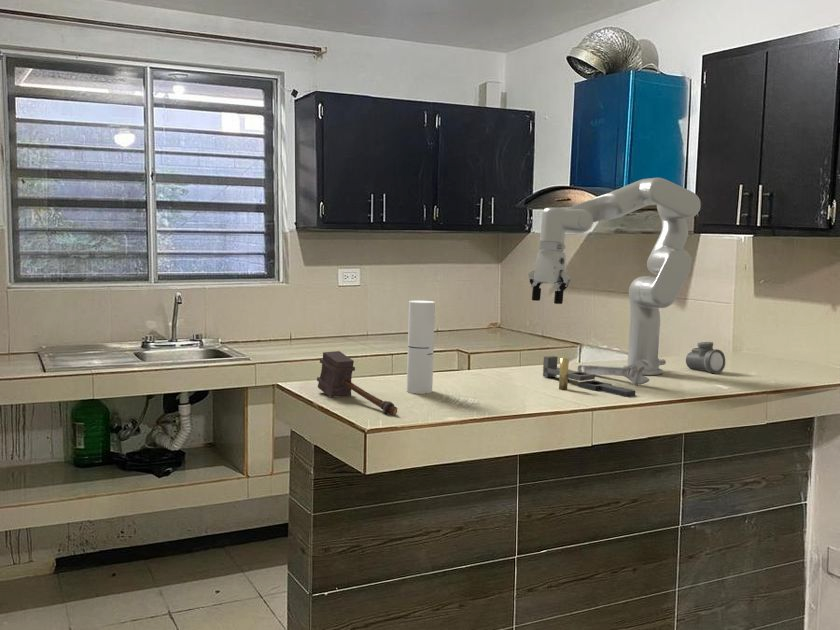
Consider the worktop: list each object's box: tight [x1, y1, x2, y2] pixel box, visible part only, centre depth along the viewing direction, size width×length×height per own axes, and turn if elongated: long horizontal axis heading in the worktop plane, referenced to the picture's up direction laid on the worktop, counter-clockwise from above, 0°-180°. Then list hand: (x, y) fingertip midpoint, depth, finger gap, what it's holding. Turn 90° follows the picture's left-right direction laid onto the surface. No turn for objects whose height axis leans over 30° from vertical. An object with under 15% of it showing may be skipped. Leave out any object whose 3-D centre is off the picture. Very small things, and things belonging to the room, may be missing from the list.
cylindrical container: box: [406, 299, 436, 395], centre depth 222 cm, size 7×7×25 cm
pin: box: [558, 357, 570, 391], centre depth 231 cm, size 2×2×9 cm
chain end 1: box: [542, 355, 596, 382], centre depth 244 cm, size 6×17×6 cm, turn 36°
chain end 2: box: [577, 379, 636, 398], centre depth 231 cm, size 7×17×1 cm, turn 36°
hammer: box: [316, 350, 398, 416], centre depth 206 cm, size 7×33×10 cm, turn 36°
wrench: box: [577, 360, 653, 386], centre depth 249 cm, size 8×2×30 cm
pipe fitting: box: [685, 341, 726, 375], centre depth 270 cm, size 12×8×10 cm
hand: (546, 302), depth 252 cm, fingers open, 9 cm apart
